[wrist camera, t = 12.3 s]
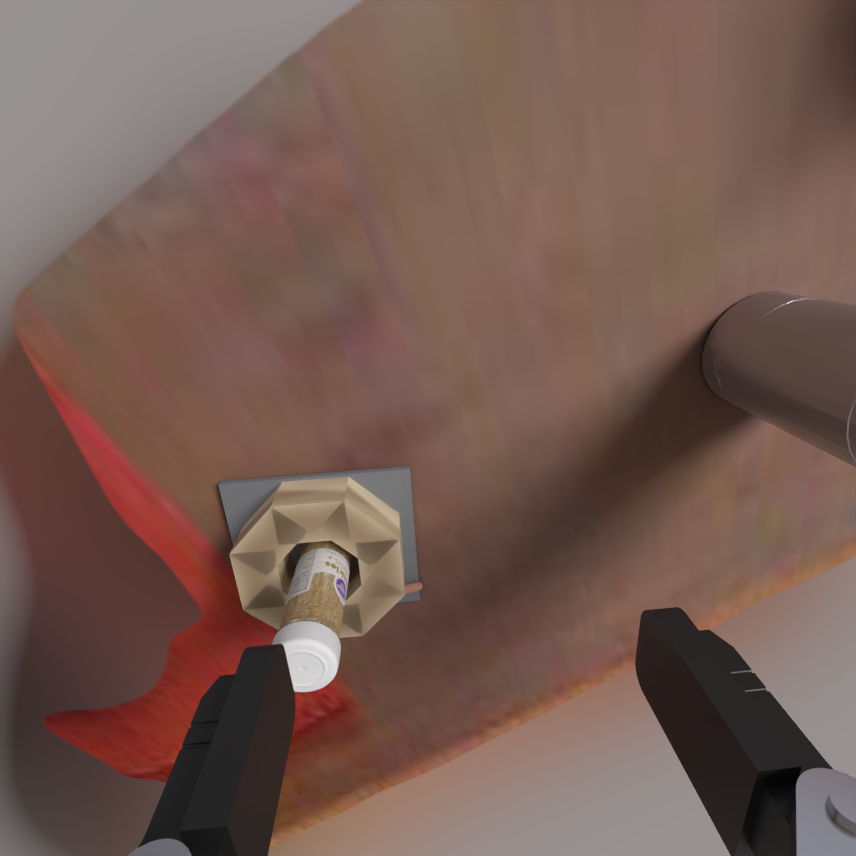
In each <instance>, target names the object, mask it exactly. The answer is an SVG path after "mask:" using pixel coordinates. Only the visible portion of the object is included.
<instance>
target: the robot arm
mask: <svg viewBox="0 0 856 856" xmlns="http://www.w3.org/2000/svg"><path fill="white" fill-rule="evenodd" d="M702 369H703V375H704V378H705V380H706V382H707V384H708V386H709V387H710V388H711V390H712V391H713V392H714V393H715V394H716V395H718V396H719V397H721V398H722V399H724V400H726V401H728V402H730V403H732V404H734V405H736V406H738V407H740V408H742V409H743V410H745V411H747V412H749V413H751V414H753V415H755V416H757V417H759V418H761V419H763V420H764V421H766V422H768V423H770V424H772V425H774V426H776V427H778V428H780V429H782V430H784V431H786V432H788V433H790V434H792V435H794V436H796V437H798V438H800V439H802V440H804V441H806V442H807V443H809V444H811V445H813V446H815V447H817V448H819V449H821V450H823V451H825V452H827V453H829V454H831V455H833V456H835V457H837V458H839V459H841V460H843V461H845V462H847V463H849V464H850V465H852V466H854V467H856V305H851V304H845V303H839V302H833V301H827V300H822V299H816V298H810V297H804V296H797V295H791V294H784V293H778V292H767V293H760V294H756V295H753V296H750V297H748V298H746V299H744V300H742V301H740V302H738V303H737V304H735V305H734V306H733V307H731V308H730V309H728V310H727V311H726V312H725V313H724V314H723V315H722V316H721V317H720V318H719V320H718V321H717V322H716V324H715V325H714V327H713V328H712V330H711V331H710V333H709V336H708V338H707V340H706V342H705V346H704V350H703V354H702ZM635 665H636V672H637V677H638V681H639V684H640V686H641V689H642V691H643V693H644V695H645V697H646V699H647V701H648V702H649V704H650V706H651V708H652V710H653V712H654V714H655V715H656V717H657V719H658V721H659V723H660V725H661V727H662V729H663V730H664V732H665V734H666V736H667V738H668V740H669V742H670V743H671V745H672V747H673V749H674V751H675V753H676V754H677V756H678V758H679V760H680V762H681V764H682V766H683V768H684V769H685V771H686V773H687V775H688V777H689V778H690V780H691V782H692V784H693V786H694V788H695V790H696V792H697V794H698V795H699V797H700V799H701V801H702V803H703V805H704V807H705V808H706V810H707V812H708V814H709V816H710V818H711V820H712V821H713V823H714V825H715V827H716V829H717V831H718V833H719V834H720V836H721V838H722V840H723V842H724V844H725V845H726V847H727V849H728V851H729V853H730V855H731V856H856V778H854V777H851V776H849V775H847V774H845V773H842V772H839V771H836V770H833V769H832V767H831V766H830V765H829V764H828V763H827V762H826V761H825V759H824V758H823V757H822V756H821V755H820V753H819V752H818V751H817V750H816V748H815V747H814V746H813V745H812V743H811V742H810V741H809V740H808V739H807V737H806V736H805V735H804V734H803V732H802V731H801V730H800V729H799V727H798V726H797V725H796V724H795V722H794V721H793V720H792V719H791V718H790V716H789V715H788V714H787V713H786V711H785V710H784V709H783V708H782V707H781V705H780V704H779V703H778V702H777V700H776V699H775V698H774V697H773V695H772V694H771V693H770V692H767V691H766V687H765V686H764V684H763V683H762V682H761V681H760V679H759V678H758V677H757V676H756V674H755V673H752V672H751V668H750V667H749V666H748V665H747V664H746V662H745V661H744V660H743V659H742V657H741V656H740V655H739V654H738V652H737V651H736V650H735V649H734V647H732V646H731V645H729V644H728V643H727V642H725V641H724V640H723V639H721V638H720V637H718V636H717V635H715V634H714V633H713V632H712V631H710V630H702V631H699V630H698V629H697V628H696V626H695V625H694V624H693V622H692V621H691V620H690V618H689V617H688V616H687V614H686V613H685V612H684V611H683V610H682V609H680V608H678V607H675V608H665V609H654V610H645V611H643V613H642V615H641V620H640V628H639V636H638V644H637V652H636V661H635ZM294 720H295V694H294V689H293V684H292V680H291V675H290V671H289V666H288V662H287V657H286V653H285V649H284V646H283V645H282V644H273V645H262V646H252V647H247V648H246V649H245V650H244V652H243V654H242V657H241V660H240V663H239V665H238V668H237V671H236V674H234V675H224V676H220V677H219V678H218V679H217V680H216V681H215V683H214V684H213V685H212V686H211V687H210V689H209V690H208V691H207V692H206V693H205V695H204V696H203V697H202V698H201V700H200V703H199V705H198V708H197V710H196V713H195V715H194V717H193V720H192V722H191V728H189V730H188V732H187V734H186V737H185V739H184V742H183V744H182V745H183V747H182V750H180V752H179V754H178V756H177V759H176V761H175V764H174V766H173V769H172V771H171V773H170V776H169V778H168V781H167V783H166V786H165V788H164V791H163V793H162V795H161V798H160V800H159V803H158V805H157V808H156V810H155V812H154V815H153V817H152V820H151V822H150V825H149V827H148V830H147V832H146V834H145V836H144V838H143V840H142V842H141V844H140V845H139V847H138V849H136V850H135V851H133V852H132V853H130V854H129V855H128V856H268V851H269V846H270V841H271V836H272V831H273V826H274V821H275V816H276V811H277V806H278V801H279V796H280V791H281V786H282V781H283V777H284V772H285V767H286V762H287V757H288V752H289V747H290V742H291V737H292V732H293V727H294Z"/></svg>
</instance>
